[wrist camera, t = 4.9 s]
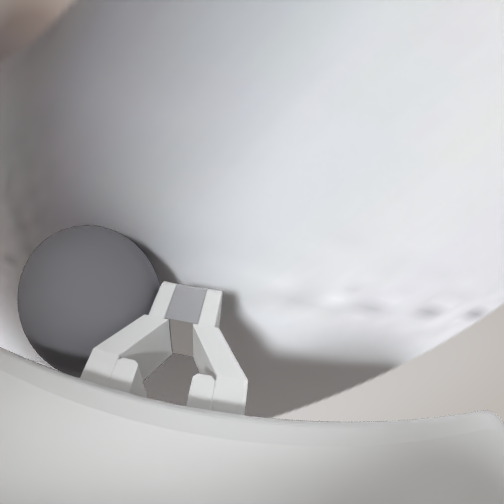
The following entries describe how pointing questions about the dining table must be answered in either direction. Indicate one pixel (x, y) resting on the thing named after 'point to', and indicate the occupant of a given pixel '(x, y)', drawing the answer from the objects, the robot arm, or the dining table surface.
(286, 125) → the dining table surface
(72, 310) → the grey matte sphere
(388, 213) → the dining table surface
